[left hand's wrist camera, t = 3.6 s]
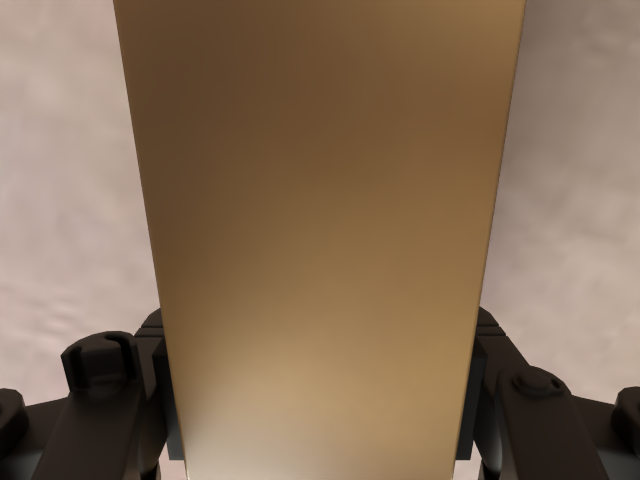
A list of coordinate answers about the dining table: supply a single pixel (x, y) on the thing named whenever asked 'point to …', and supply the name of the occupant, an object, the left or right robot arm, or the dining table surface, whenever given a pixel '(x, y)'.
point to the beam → (319, 222)
